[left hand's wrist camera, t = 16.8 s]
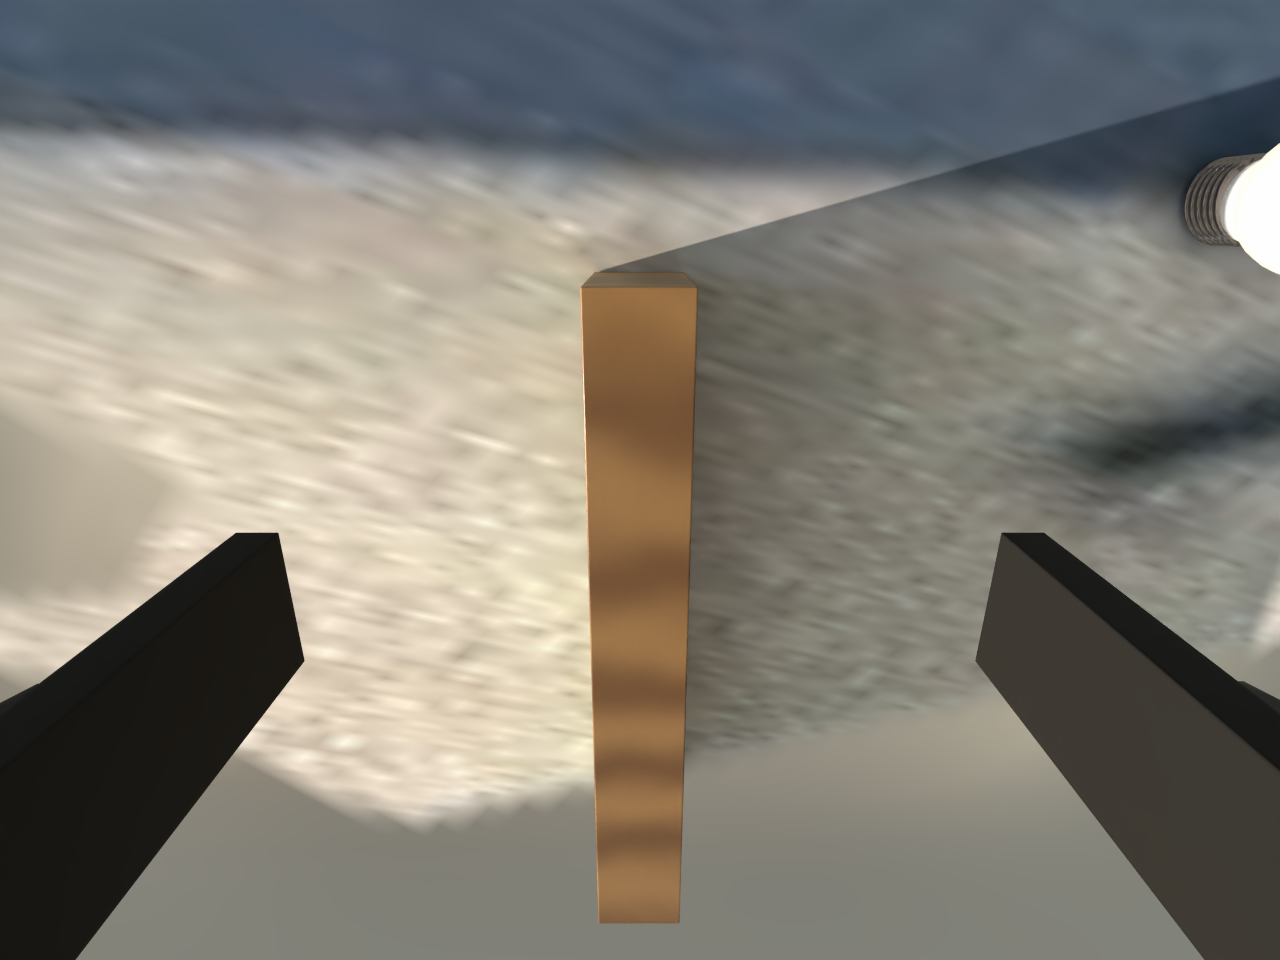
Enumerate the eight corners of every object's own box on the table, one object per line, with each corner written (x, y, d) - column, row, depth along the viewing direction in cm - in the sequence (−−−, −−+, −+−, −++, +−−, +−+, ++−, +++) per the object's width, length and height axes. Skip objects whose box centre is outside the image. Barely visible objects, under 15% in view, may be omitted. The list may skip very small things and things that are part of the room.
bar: (593, 272, 35) (580, 286, 27) (684, 272, 35) (698, 286, 27) (605, 803, 48) (598, 924, 40) (672, 803, 48) (679, 923, 40)
